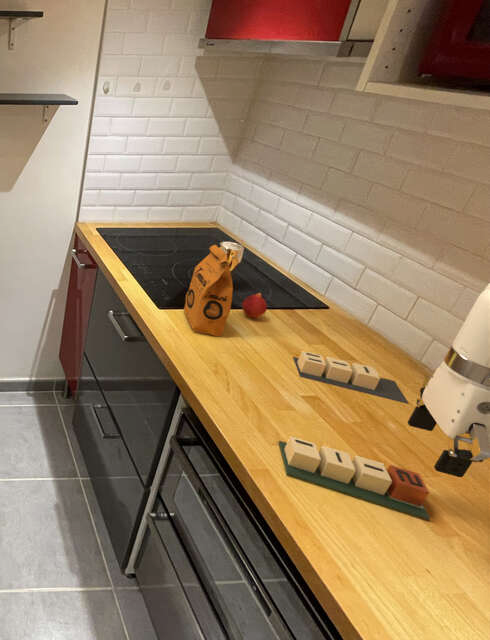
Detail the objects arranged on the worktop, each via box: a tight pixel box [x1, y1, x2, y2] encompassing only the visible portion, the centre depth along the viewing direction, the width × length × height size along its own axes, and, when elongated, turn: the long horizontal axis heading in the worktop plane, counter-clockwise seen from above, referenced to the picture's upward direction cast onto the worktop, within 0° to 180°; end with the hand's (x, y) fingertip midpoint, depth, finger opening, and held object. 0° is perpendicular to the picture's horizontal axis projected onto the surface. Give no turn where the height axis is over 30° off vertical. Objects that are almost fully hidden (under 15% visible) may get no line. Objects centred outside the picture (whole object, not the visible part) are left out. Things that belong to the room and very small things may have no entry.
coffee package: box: [183, 244, 234, 337], centre depth 120 cm, size 10×12×22 cm
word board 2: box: [277, 435, 431, 522], centre depth 80 cm, size 20×8×4 cm, turn 65°
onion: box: [241, 292, 268, 319], centre depth 127 cm, size 6×6×8 cm
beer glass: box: [218, 240, 245, 279], centre depth 140 cm, size 7×7×15 cm
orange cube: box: [386, 464, 430, 506], centre depth 77 cm, size 4×4×4 cm
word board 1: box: [292, 350, 410, 405], centre depth 104 cm, size 20×8×4 cm, turn 65°
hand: (432, 448), depth 73 cm, fingers open, 9 cm apart
